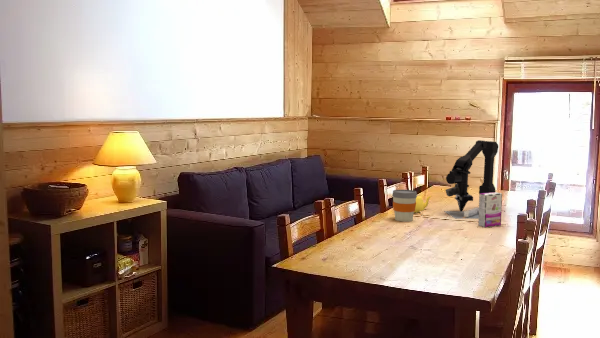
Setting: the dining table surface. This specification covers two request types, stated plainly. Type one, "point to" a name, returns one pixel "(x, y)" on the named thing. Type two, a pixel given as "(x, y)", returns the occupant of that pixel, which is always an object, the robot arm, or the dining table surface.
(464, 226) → the dining table surface
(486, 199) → the candy bar box
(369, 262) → the dining table surface
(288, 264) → the dining table surface
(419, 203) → the teapot
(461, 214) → the dial plate
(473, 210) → the dial lever
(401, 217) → the reusable coffee cup
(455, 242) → the dining table surface
